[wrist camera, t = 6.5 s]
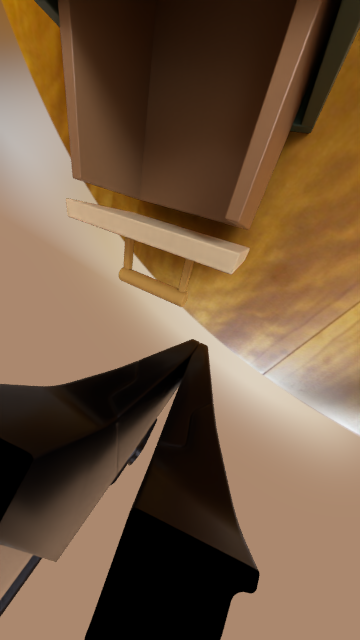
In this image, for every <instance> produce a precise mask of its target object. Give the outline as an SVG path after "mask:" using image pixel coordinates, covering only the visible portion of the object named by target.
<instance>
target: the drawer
mask: <svg viewBox="0 0 360 640" xmlns="http://www.w3.org/2000/svg"><path fill="white" fill-rule="evenodd" d="M341 2H342V0H58V9H59V20H60V32H61V44H62V56H63V67H64V79H65V91H66V103H67V114H68V126H69V138H70V149H71V161H72V173H73V178H75V179H77V180H80V181H84V182H87V183H90V184H93V185H96V186H99V187H102V188H105V189H108V190H111V191H114V192H117V193H120V194H123V195H126V196H129V197H132V198H135V199H138V200H142V201H146V202H149V203H153V204H156V205H160V206H164V207H167V208H171V209H174V210H178V211H181V212H185V213H189V214H192V215H196V216H199V217H203V218H207V219H210V220H214V221H217V222H221V223H225V224H228V225H232V226H235V227H239V228H243V229H246V230H249V229H250V226H251V224H252V221H253V219H254V217H255V214H256V212H257V209H258V207H259V204H260V202H261V200H262V197H263V195H264V192H265V190H266V188H267V185H268V183H269V180H270V178H271V175H272V173H273V171H274V168H275V166H276V163H277V161H278V158H279V156H280V154H281V151H282V149H283V146H284V144H285V142H286V139H287V137H288V134H289V132H290V129H291V127H292V125H293V122H294V120H295V117H296V115H297V112H298V110H299V108H300V105H301V103H302V100H303V98H304V95H305V93H306V91H307V88H308V86H309V83H310V81H311V79H312V76H313V74H314V71H315V69H316V66H317V64H318V62H319V59H320V57H321V54H322V52H323V49H324V47H325V45H326V42H327V40H328V37H329V35H330V32H331V30H332V28H333V25H334V23H335V20H336V17H337V14H338V11H339V8H340V5H341ZM66 205H67V213H68V216H69V217H71V218H74V219H77V220H80V221H82V222H85V223H88V224H91V225H94V226H96V227H100V228H102V229H105V230H108V231H111V232H113V233H116V234H119V235H122V236H124V237H125V252H124V267H123V268H122V269H121V270H120V272H119V278H120V280H122V281H124V282H126V283H128V284H131V285H133V286H135V287H137V288H140V289H142V290H144V291H146V292H149V293H151V294H153V295H155V296H157V297H160V298H162V299H164V300H166V301H169V302H171V303H174V304H175V305H178V306H180V307H183V306H184V305H185V303H186V301H187V298H188V293H187V292H185V291H186V290H187V286H188V282H189V279H190V275H191V272H192V268H193V265H194V262H197V263H200V264H203V265H206V266H208V267H211V268H214V269H217V270H220V271H222V272H225V273H228V274H232V273H233V272H234V271H235V270H236V269H237V268H238V267H239V266H240V265H241V264H242V263H243V262H244V261H245V259H246V256H247V254H248V252H249V249H250V248H248V247H245V246H242V245H238V244H235V243H232V242H228V241H225V240H222V239H219V238H215V237H212V236H209V235H206V234H202V233H199V232H196V231H192V230H189V229H186V228H183V227H179V226H176V225H173V224H170V223H166V222H163V221H160V220H156V219H153V218H150V217H147V216H143V215H140V214H137V213H133V212H129V211H124V210H120V209H115V208H110V207H106V206H101V205H96V204H92V203H87V202H83V201H77V200H73V199H69V198H67V199H66ZM134 240H136V241H138V242H141V243H144V244H147V245H150V246H152V247H155V248H158V249H161V250H164V251H166V252H169V253H172V254H175V255H178V256H180V257H183V258H186V260H185V264H184V268H183V272H182V276H181V280H180V284H179V288H178V289H177V288H175V287H173V286H170V285H168V284H165V283H163V282H161V281H158V280H156V279H153V278H151V277H149V276H146V275H144V274H141V273H139V272H136V271H134V270H132V263H133V251H134Z"/></svg>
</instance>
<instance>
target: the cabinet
mask: <svg viewBox="0 0 360 640" xmlns="http://www.w3.org/2000/svg"><path fill="white" fill-rule="evenodd" d="M35 2H36V3H37V4H38V5H39V6H40V7H41V8H42V9H43V10H44V11H45V12H46V13H47V14H48V15H49V17H50V18H51V19H52V20H53V21H54V22H55V23H56V24H57V25H58V26H59V27H60V20H59V9H58V0H35ZM359 28H360V0H342V2H341V5H340V8H339V11H338V14H337V17H336V20H335V23H334V25H333V28H332V30H331V32H330V35H329V37H328V40H327V42H326V45H325V47H324V49H323V52H322V54H321V57H320V59H319V62H318V64H317V66H316V69H315V71H314V74H313V76H312V79H311V81H310V83H309V86H308V88H307V91H306V93H305V95H304V98H303V100H302V103H301V105H300V108H299V110H298V112H297V115H296V117H295V120H294V122H293V125H292V127H291V129H290V131H295V132H303V133H311V131H312V129H313V127H314V125H315V123H316V121H317V118H318V116H319V114H320V112H321V110H322V108H323V105H324V103H325V101H326V99H327V97H328V95H329V92H330V90H331V88H332V86H333V84H334V82H335V79H336V77H337V75H338V73H339V71H340V69H341V66H342V64H343V62H344V60H345V58H346V56H347V53H348V51H349V49H350V47H351V45H352V43H353V40H354V38H355V36H356V34H357V32H358V30H359Z"/></svg>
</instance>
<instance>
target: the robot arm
mask: <svg viewBox="0 0 360 640" xmlns="http://www.w3.org/2000/svg"><path fill="white" fill-rule="evenodd" d="M179 385H180V386H179ZM178 387H179V388H178ZM177 388H178V391H177V393H176V396H175V399H174V401H173V404H172V406H171V409H170V412H169V414H168V417H167V420H166V422H165V425H164V427H163V430H162V433H161V435H160V438H159V441H158V443H157V446H156V448H155V451H154V454H153V456H152V459H151V461H150V464H149V466H148V469H147V471H146V474H145V476H144V479H143V481H142V484H141V486H140V488H139V491H138V494H137V496H136V498H135V501H134V503H133V506H132V508H131V511H130V513H129V516H128V519H127V521H126V524H125V527H124V530H123V533H122V536H121V539H120V541H119V544H118V547H117V550H116V552H115V555H114V558H113V561H112V564H111V567H110V569H109V572H108V575H107V578H106V581H105V583H104V587H103V589H102V592H101V595H100V597H99V600H98V603H97V606H96V609H95V612H94V614H93V617H92V620H91V623H90V625H89V628H88V630H87V633H86V636H85V640H220V639H221V636H222V633H223V629H224V625H225V621H226V618H227V614H228V610H229V607H230V603H231V600H232V598H233V596H234V595H235V594H237V593H239V592H247V593H254V592H255V591H256V589H257V585H258V580H259V571H258V569H257V566H256V564H255V562H254V560H253V558H252V555H251V553H250V551H249V549H248V546H247V544H246V542H245V539H244V537H243V534H242V532H241V529H240V527H239V524H238V520H237V517H236V514H235V510H234V507H233V503H232V499H231V494H230V490H229V485H228V480H227V476H226V471H225V467H224V463H223V458H222V453H221V448H220V444H219V439H218V433H217V428H216V421H215V414H214V404H213V394H212V384H211V374H210V364H209V354H208V347H207V346H206V345H204V344H202V343H199V342H198V341H196V340H194V339H191V340H189V341H186V342H184V343H181V344H179V345H176V346H174V347H171V348H169V349H166V350H164V351H161V352H159V353H156V354H154V355H151V356H149V357H146V358H144V359H142V360H139V361H136V362H133V363H131V364H128V365H126V366H123V367H120V368H117V369H114V370H111V371H108V372H105V373H101V374H98V375H94V376H91V377H87V378H84V379H81V380H77V381H74V382H70V383H66V384H62V385H57V386H45V387H43V386H25V385H9V384H0V616H1V615H2V614H3V612H4V611H5V609H6V608H7V606H8V605H9V604H10V602H11V601H12V600H13V598H14V597H15V595H16V594H17V592H18V591H19V590H20V588H21V587H22V586H23V584H24V583H25V581H26V580H27V579H28V577H29V576H30V574H31V573H32V572H33V570H34V569H35V567H36V566H37V564H38V563H39V562H40V560H41V559H42V558H45V559H48V560H51V561H55V562H57V560H58V559H59V557H60V556H61V555H62V553H63V552H64V550H65V549H66V547H67V546H68V545H69V543H70V542H71V540H72V539H73V537H74V536H75V535H76V533H77V532H78V530H79V529H80V527H81V526H82V524H83V523H84V522H85V520H86V519H87V517H88V516H89V515H90V513H91V512H92V510H93V509H94V507H95V506H96V504H97V503H98V502H99V500H100V498H101V497H102V496H103V494H104V493H105V492H106V490H107V489H108V487H109V486H110V485H112V484H113V483H114V482H115V481H116V480H117V478H118V477H119V476H120V474H121V472H122V471H123V470H124V468H125V467H126V465H127V464H128V465H131V464H132V463H133V462H134V461H135V460H136V458H137V457H138V456H139V454H140V453H141V451H142V450H143V448H144V446H145V444H146V443H147V440H148V438H149V436H150V434H151V432H152V430H153V428H154V426H155V424H156V421H157V417H158V415H159V414H160V413H161V411H162V410H163V408H164V407H165V405H166V404H167V403H168V401H169V400H170V398H171V397H172V395H173V394H174V392H175V391H176V390H177Z"/></svg>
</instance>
